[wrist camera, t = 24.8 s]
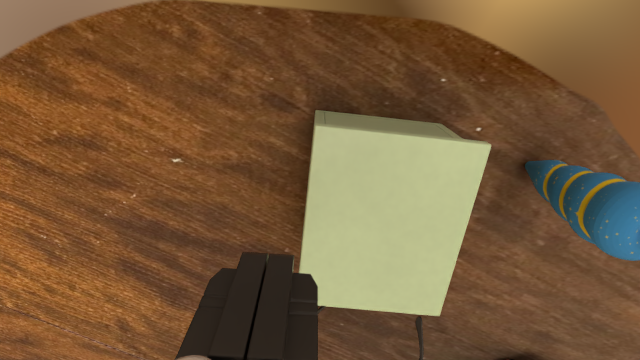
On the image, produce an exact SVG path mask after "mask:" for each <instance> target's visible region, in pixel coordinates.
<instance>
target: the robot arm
mask: <svg viewBox="0 0 640 360" xmlns="http://www.w3.org/2000/svg"><path fill="white" fill-rule="evenodd" d="M293 267H294V255H284V254H269V258H268V253H254V252H243V253H242V255H241V258H240V261H239V264H238V267H237V269H228V268H222V269H221V270H220V271H219V272H218V273H217V274H216V275H214V276H213V277H212V278H211V279H210V281H209V283H208V285H207V288H206V290H205V292H204V296H203V297H202V299H201V301H200V304H199V307H198V309H197V311H196V313H195V315H194V317H193V320H192V322H191V324H190V327H189V329H188V331H187V333H186V336H185V338H184V340H183V343H182V345H181V347H180V349H179V352H178V354H177V356H176V358H175V360H318V286H317V284H316V282H315V281H314V279H313V277H312V275H311V274H305V273H293Z"/></svg>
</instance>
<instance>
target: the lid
mask: <svg viewBox="0 0 640 360" xmlns="http://www.w3.org/2000/svg"><path fill="white" fill-rule="evenodd" d="M490 149H491V144H489V143H487V142H484V141H475V140H466V139H457V138H447V137H438V136H429V135H420V134H411V133H402V132H392V131H383V130H374V129H365V128H356V127H346V126H337V125H328V124H319V123H315V126H314V135H313V145H312V154H311V164H310V173H309V183H308V192H307V202H306V211H305V221H304V230H303V240H302V249H301V259H300V268H299V273H305V274H311V275H312V277H313V279H314V281H315V282H316V284H317V286H318V306H329V307H340V308H352V309H363V310H374V311H386V312H397V313H408V314H420V315H431V316H440V312H441V309H442V306H443V303H444V299H445V296H446V293H447V290H448V286H449V283H450V280H451V276H452V273H453V270H454V267H455V263H456V260H457V257H458V253H459V250H460V247H461V244H462V240H463V237H464V234H465V231H466V227H467V224H468V221H469V217H470V214H471V211H472V208H473V204H474V201H475V198H476V195H477V191H478V188H479V185H480V181H481V178H482V175H483V172H484V168H485V165H486V162H487V159H488V155H489V152H490Z"/></svg>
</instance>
